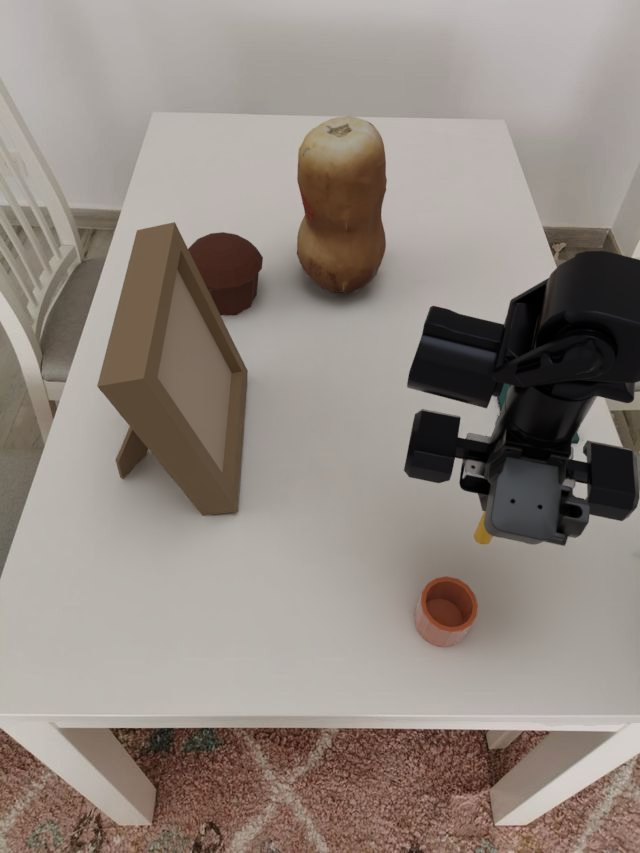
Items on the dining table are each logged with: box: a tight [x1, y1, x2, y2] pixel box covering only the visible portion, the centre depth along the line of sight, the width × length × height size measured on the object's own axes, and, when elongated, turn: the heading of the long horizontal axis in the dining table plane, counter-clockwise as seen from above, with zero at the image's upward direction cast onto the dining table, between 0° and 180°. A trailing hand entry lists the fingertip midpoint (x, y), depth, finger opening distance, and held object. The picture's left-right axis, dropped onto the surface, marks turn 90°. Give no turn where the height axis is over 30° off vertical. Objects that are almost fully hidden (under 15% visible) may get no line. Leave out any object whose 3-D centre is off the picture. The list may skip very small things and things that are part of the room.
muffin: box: [187, 231, 264, 317], centre depth 91 cm, size 12×11×10 cm
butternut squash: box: [296, 116, 388, 295], centre depth 88 cm, size 14×13×25 cm
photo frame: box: [96, 221, 249, 517], centre depth 69 cm, size 15×22×25 cm
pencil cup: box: [413, 576, 479, 648], centre depth 64 cm, size 6×6×6 cm
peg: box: [473, 511, 494, 546], centre depth 60 cm, size 2×2×11 cm
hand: (495, 509), depth 59 cm, fingers closed on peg, 2 cm apart
